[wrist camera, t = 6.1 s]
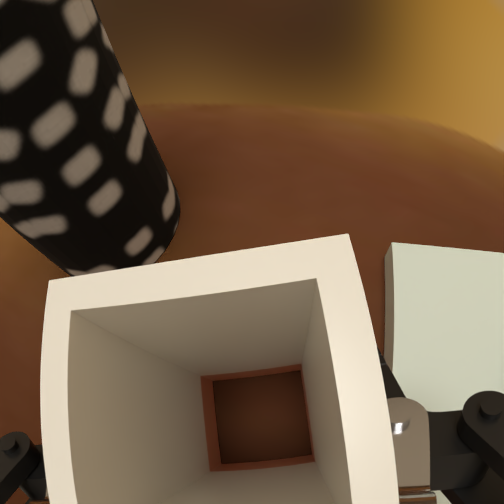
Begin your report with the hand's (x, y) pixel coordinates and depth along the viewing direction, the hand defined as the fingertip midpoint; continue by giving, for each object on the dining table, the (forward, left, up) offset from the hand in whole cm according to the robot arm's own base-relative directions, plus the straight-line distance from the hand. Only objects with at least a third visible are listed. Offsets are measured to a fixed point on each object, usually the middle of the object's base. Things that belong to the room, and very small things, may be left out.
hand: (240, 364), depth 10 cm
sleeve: (0, -2, -4) cm, 5 cm away
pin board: (+12, 0, -4) cm, 13 cm away
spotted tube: (-10, +7, -4) cm, 13 cm away
